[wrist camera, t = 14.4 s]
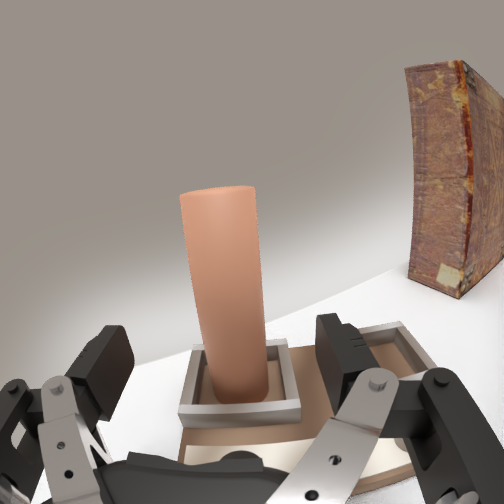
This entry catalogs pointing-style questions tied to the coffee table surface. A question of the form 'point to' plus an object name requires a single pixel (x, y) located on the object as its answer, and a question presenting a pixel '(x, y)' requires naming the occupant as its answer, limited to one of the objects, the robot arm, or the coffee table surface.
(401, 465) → the walnut socket board
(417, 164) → the book
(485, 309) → the coffee table surface
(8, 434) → the robot arm
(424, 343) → the coffee table surface
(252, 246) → the terracotta pin
